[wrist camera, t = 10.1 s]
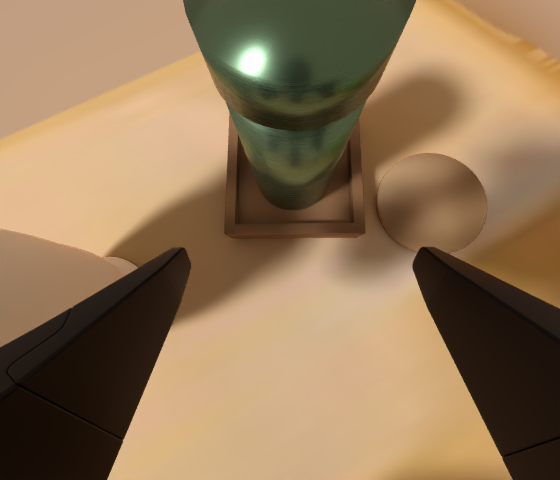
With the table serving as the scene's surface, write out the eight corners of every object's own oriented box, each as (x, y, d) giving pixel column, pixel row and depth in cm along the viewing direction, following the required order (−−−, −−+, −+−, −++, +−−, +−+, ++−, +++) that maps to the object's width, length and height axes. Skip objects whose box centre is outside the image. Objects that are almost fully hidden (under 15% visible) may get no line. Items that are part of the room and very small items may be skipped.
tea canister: (344, 158, 18) (456, -76, 6) (311, 225, 18) (357, 117, 5) (276, 128, 19) (250, -135, 7) (241, 191, 18) (139, 29, 6)
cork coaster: (504, 205, 18) (510, 203, 18) (433, 276, 18) (437, 276, 17) (423, 137, 19) (427, 134, 19) (354, 202, 19) (356, 200, 18)
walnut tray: (356, 237, 18) (365, 233, 16) (232, 238, 19) (224, 233, 17) (350, 123, 20) (357, 105, 18) (236, 126, 21) (229, 109, 18)
